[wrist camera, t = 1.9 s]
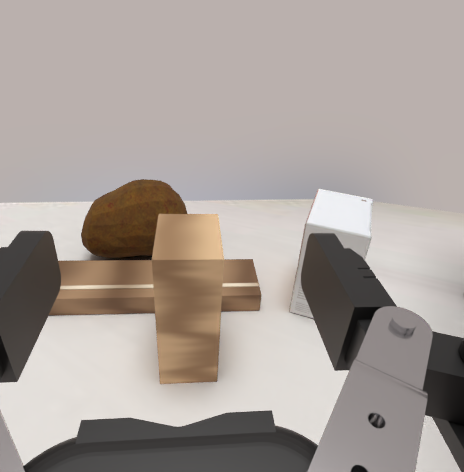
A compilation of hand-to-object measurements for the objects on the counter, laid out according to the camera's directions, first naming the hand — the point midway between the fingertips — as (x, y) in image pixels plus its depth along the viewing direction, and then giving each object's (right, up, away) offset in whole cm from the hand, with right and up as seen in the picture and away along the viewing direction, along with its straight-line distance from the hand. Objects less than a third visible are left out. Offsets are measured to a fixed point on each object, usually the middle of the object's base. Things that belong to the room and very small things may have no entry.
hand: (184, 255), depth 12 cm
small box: (+11, -6, +28) cm, 30 cm away
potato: (-10, -1, +34) cm, 35 cm away
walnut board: (-9, -5, +26) cm, 28 cm away
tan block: (-3, -8, +23) cm, 24 cm away
